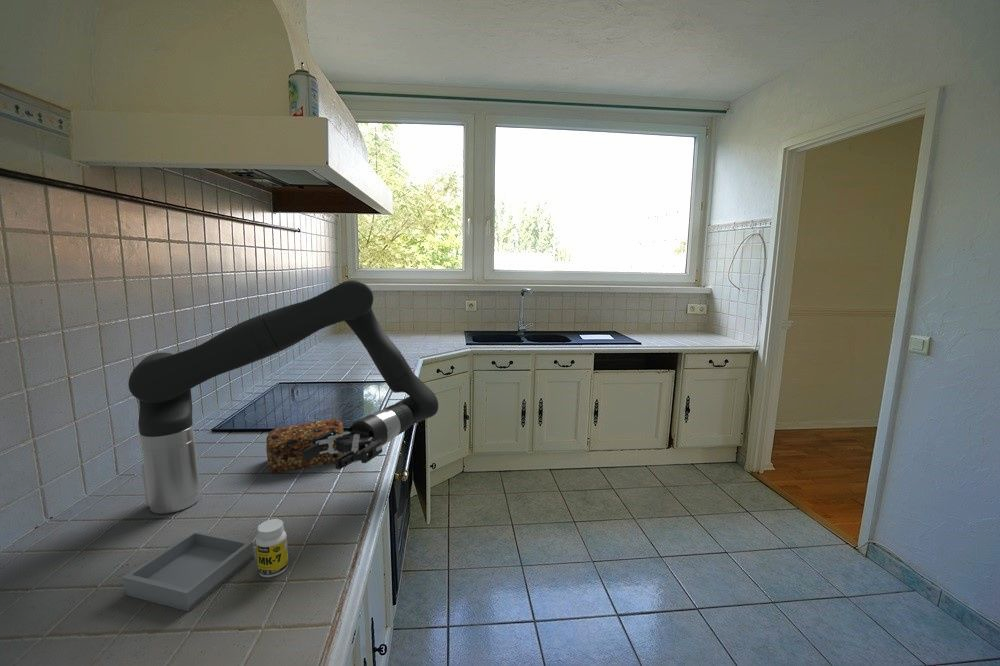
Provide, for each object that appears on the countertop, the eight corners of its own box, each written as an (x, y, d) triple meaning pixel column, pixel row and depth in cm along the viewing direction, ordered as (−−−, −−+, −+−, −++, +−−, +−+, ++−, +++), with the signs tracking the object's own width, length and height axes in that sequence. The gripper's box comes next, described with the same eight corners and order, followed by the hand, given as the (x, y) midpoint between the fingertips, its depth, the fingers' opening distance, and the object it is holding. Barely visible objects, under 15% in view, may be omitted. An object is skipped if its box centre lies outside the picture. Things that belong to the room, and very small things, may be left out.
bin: (125, 594, 73) (122, 577, 72) (197, 545, 85) (195, 530, 85) (189, 611, 70) (186, 593, 69) (254, 557, 82) (252, 541, 81)
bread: (343, 447, 129) (341, 414, 127) (346, 463, 119) (344, 427, 118) (270, 458, 122) (267, 422, 120) (267, 475, 112) (264, 437, 110)
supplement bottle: (255, 580, 76) (251, 535, 75) (261, 562, 81) (258, 519, 79) (286, 575, 78) (282, 531, 76) (291, 557, 82) (287, 515, 81)
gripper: (349, 409, 103) (291, 436, 89) (400, 419, 97) (346, 448, 83) (352, 440, 105) (294, 471, 90) (402, 451, 99) (349, 486, 84)
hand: (319, 460), depth 87 cm, fingers open, 8 cm apart
